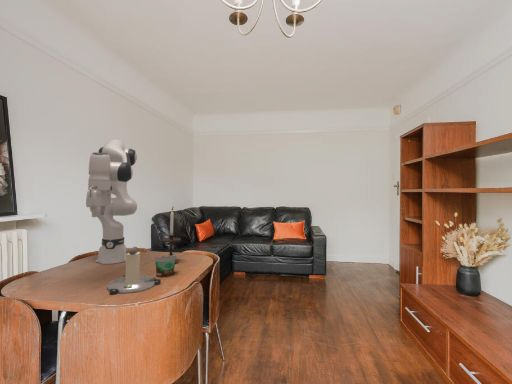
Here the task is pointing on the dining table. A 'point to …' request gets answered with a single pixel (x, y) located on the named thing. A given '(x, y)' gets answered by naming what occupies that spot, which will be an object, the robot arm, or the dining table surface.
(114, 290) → the levelling base
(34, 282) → the dining table surface
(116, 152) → the robot arm
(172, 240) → the candlestick
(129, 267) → the cream bottle
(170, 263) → the food container
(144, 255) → the dining table surface
